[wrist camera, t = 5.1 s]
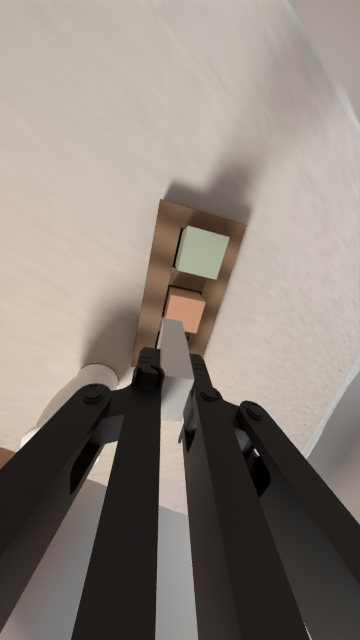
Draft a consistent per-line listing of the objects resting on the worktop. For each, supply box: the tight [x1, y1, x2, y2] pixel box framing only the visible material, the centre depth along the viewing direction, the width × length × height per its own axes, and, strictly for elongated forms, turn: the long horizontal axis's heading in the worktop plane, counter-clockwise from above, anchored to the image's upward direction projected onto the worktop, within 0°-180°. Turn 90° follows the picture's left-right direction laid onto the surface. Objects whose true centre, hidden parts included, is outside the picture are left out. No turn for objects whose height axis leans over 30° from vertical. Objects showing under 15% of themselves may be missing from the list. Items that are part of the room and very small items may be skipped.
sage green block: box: [175, 226, 230, 280], centre depth 25 cm, size 5×5×8 cm
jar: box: [20, 364, 118, 466], centre depth 32 cm, size 11×10×15 cm
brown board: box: [131, 199, 247, 367], centre depth 32 cm, size 28×13×3 cm, turn 166°
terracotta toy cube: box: [164, 285, 206, 333], centre depth 30 cm, size 5×5×8 cm
